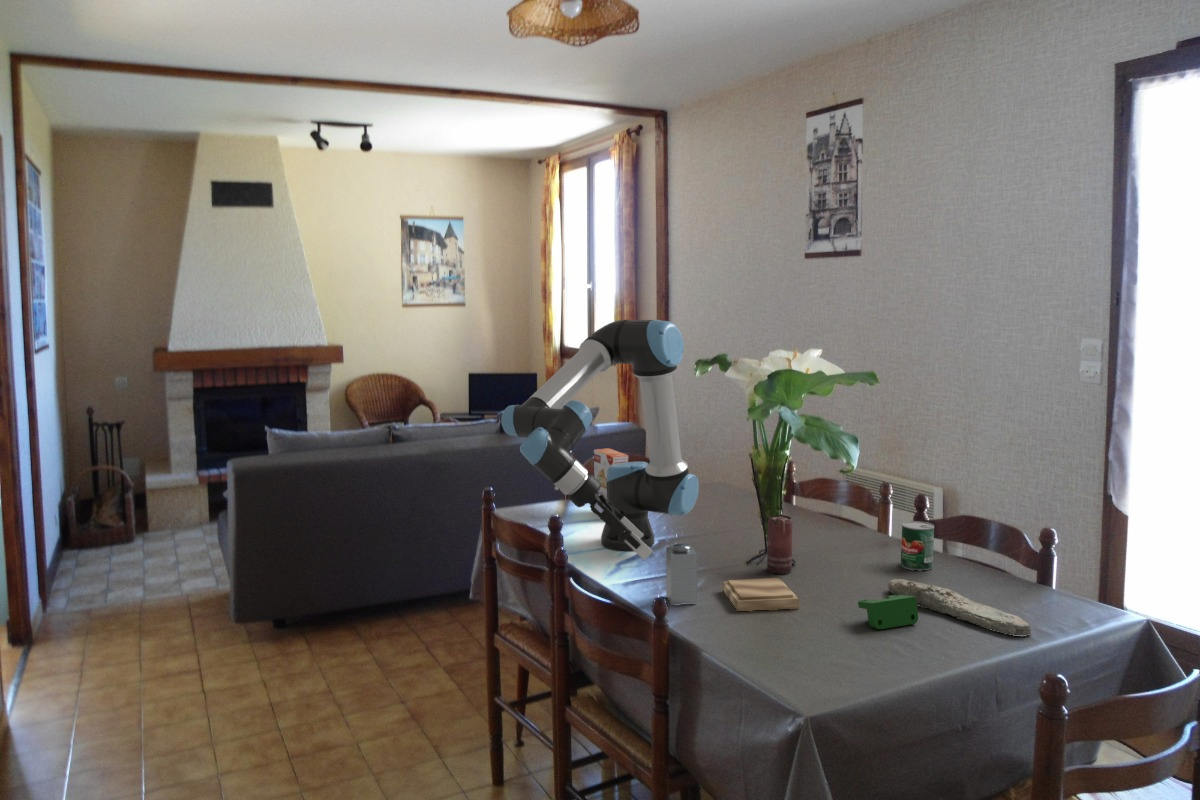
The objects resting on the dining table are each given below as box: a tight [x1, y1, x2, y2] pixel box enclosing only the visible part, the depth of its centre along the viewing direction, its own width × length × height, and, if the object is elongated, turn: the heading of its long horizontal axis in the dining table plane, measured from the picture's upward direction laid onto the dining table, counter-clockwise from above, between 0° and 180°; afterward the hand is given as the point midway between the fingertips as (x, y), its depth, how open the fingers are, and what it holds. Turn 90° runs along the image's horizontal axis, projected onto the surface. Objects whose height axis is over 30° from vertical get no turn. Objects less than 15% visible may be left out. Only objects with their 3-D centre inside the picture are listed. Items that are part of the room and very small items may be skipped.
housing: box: [665, 543, 698, 607], centre depth 207 cm, size 6×6×13 cm
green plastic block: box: [857, 594, 919, 630], centre depth 193 cm, size 12×6×9 cm, turn 104°
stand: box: [722, 577, 800, 612], centre depth 208 cm, size 14×14×3 cm
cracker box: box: [593, 447, 629, 499], centre depth 284 cm, size 14×6×21 cm, turn 25°
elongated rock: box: [887, 578, 1032, 635], centre depth 199 cm, size 35×5×10 cm
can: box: [766, 514, 793, 575], centre depth 228 cm, size 6×6×14 cm
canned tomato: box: [900, 520, 935, 572], centre depth 231 cm, size 8×8×11 cm
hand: (644, 547), depth 205 cm, fingers open, 13 cm apart
